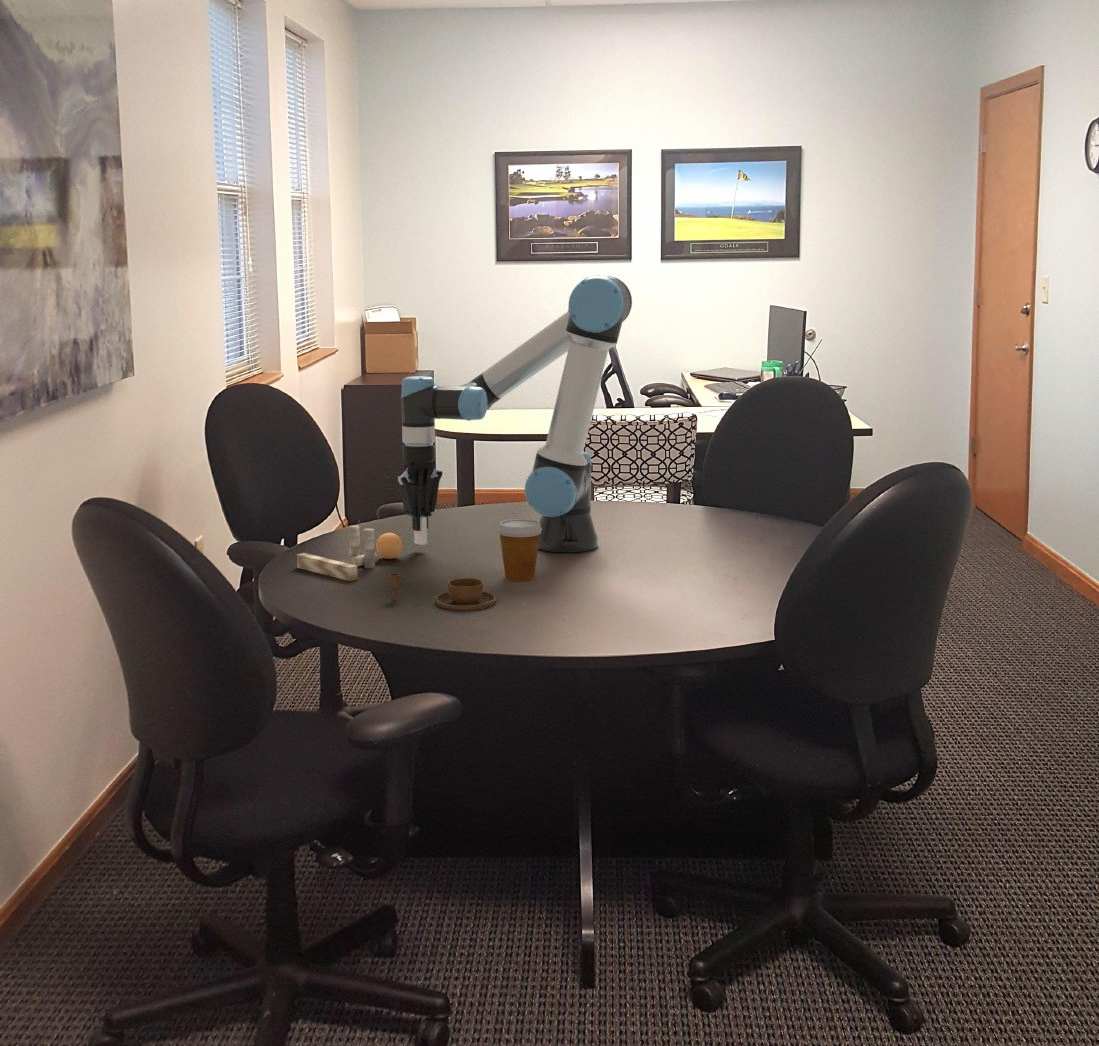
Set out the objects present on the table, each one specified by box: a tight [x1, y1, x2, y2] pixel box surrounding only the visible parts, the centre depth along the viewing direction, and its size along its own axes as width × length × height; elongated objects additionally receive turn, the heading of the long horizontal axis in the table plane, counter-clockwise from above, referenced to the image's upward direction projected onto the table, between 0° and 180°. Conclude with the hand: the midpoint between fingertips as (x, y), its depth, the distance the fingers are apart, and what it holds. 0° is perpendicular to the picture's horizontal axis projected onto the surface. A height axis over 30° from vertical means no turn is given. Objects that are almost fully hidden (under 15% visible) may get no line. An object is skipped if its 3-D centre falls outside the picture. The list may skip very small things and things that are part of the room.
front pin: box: [341, 552, 379, 568], centre depth 265 cm, size 2×2×8 cm
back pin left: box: [362, 528, 376, 569], centre depth 263 cm, size 2×2×8 cm
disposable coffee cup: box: [497, 518, 542, 582], centre depth 254 cm, size 10×10×12 cm
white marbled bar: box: [296, 552, 358, 582], centre depth 258 cm, size 18×2×3 cm, turn 49°
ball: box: [375, 532, 403, 560], centre depth 271 cm, size 6×6×6 cm
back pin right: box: [347, 524, 361, 558], centre depth 266 cm, size 2×2×8 cm
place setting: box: [387, 572, 497, 612], centre depth 238 cm, size 18×20×6 cm
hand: (420, 543), depth 279 cm, fingers closed
